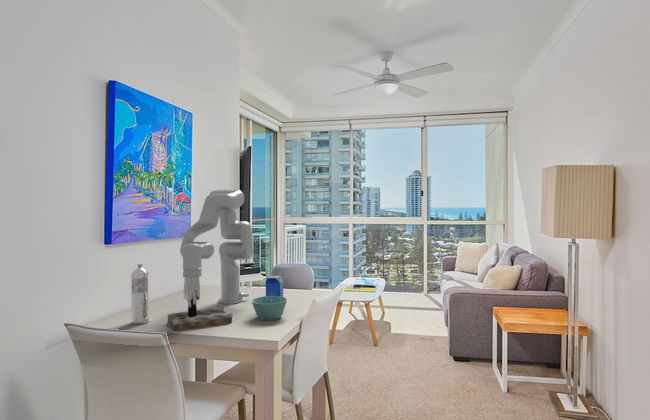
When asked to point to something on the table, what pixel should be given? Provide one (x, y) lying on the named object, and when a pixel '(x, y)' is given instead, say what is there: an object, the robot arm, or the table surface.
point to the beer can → (274, 286)
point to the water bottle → (139, 296)
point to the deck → (199, 319)
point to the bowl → (269, 307)
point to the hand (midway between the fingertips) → (192, 316)
